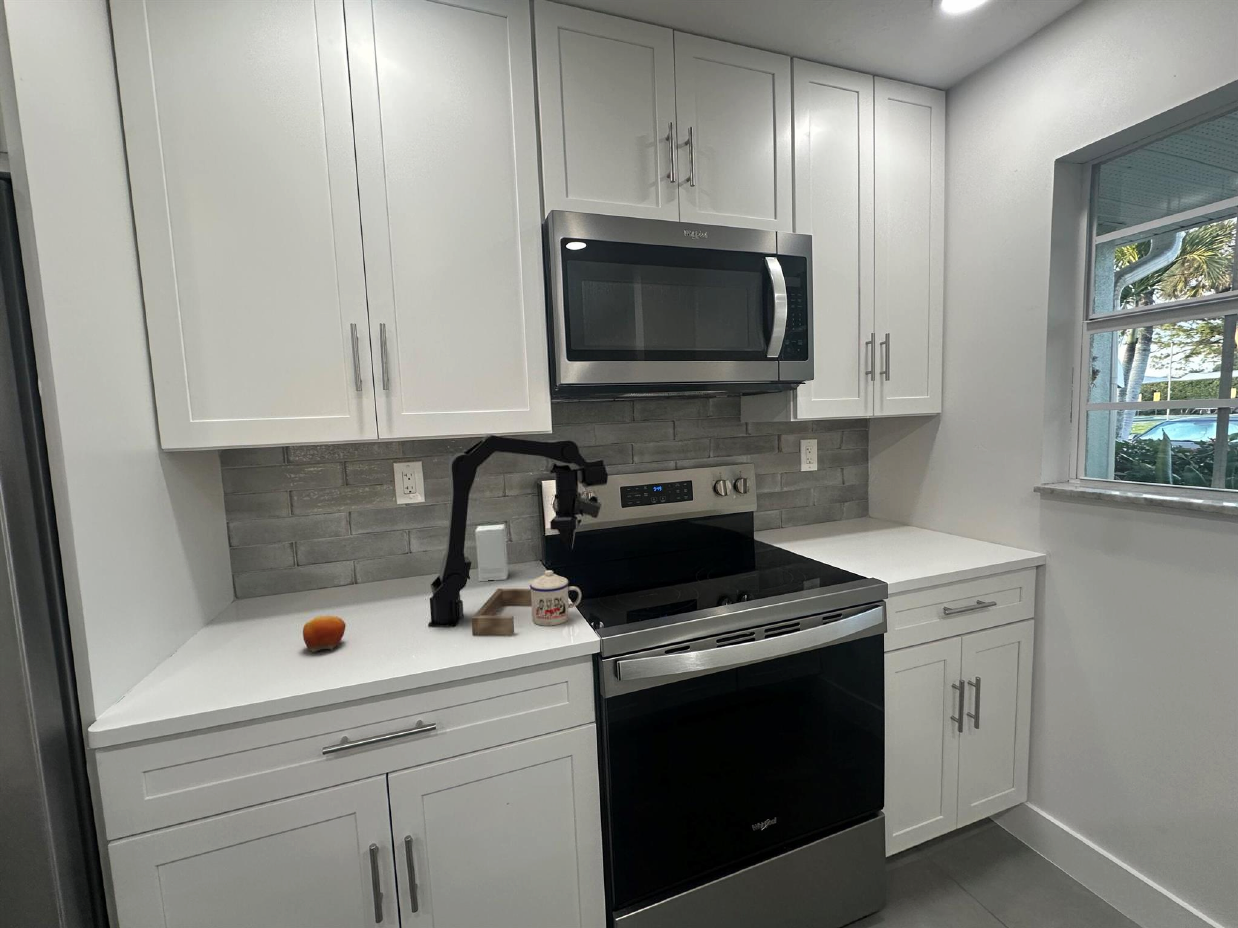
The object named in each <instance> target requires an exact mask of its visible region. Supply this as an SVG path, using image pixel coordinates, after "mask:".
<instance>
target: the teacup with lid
mask: <svg viewBox="0 0 1238 928" xmlns="http://www.w3.org/2000/svg"><path fill="white" fill-rule="evenodd" d="M569 583H570V582H569V580H568V579H567V578H566V577H564V576H560V575H557V574H555V573H554V571H553V570H550V569H549V570H545V571H544V574H542V575H541V576H539V577H537V578H534V579H532V580H531V582H530V583H529V589H531V602H532V606H531V618H532V619H531V620H532V622H533V623H534V624H535V625H539V626H544V627H545V626H547V627H549V626H550V627H551V626H557V625H561V624H564V623H565V622H567V621H568V620H569V619H570V609H572V608H575V607H576V606H578V605H579V603H580V602H581V600H582V592H581V590H580V588H579V587H577V586H574V585H573V586H569ZM570 591H575V592H577V598H576V600H575V601H574V602H572V603H569V592H570Z"/></svg>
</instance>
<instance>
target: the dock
mask: <svg viewBox="0 0 1238 928" xmlns="http://www.w3.org/2000/svg"><path fill="white" fill-rule="evenodd" d="M530 606H531V607H532V602H531V588H497V589H496V590H495V591H494V592H493V594H492V595H490V597H489V598H488V599H486V601H485V602H484V603H483V605H481V607H480V608H479V609H478V610H477V611H476V613H475V614H474V615H473V616H472V617H471V630H472V631H471V633H472V635H486V636H487V635H500V637H503V635H504V637H506V635H507V637H509V636H510V637H511V636H512V637H513V636H514V635H515V621H514V620H515V618H514V615H497V614H498V613H499V611H500V610H501V609H502V607H530ZM496 613H497V614H496ZM501 635H502V636H501ZM508 635H509V636H508ZM486 636H485V637H486Z"/></svg>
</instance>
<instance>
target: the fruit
mask: <svg viewBox="0 0 1238 928" xmlns="http://www.w3.org/2000/svg"><path fill="white" fill-rule="evenodd" d="M346 625H347V624H346V622H345V621H344V620H343V619H342V618H341V617H339V616H338V615H337V616H335V615H319V616H316V617H314V618H313V619H311V620H310V621H308V622H306V623H305V624H304V625H303V628H302V637H303V638H302V639H303V641H304V644H305V645H306V648H307V649H308V650H309V651H310V652H312V653H313V655H314V653H316V652H317V651H320V650H324V649H325V650H326V649H327V650H332V651H333V652H335V650H334V648H335V647H336V646H337V645H339V644H340V642H341V641H342V639H343V637H344V635H345V631H346Z"/></svg>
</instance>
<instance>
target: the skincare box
mask: <svg viewBox="0 0 1238 928" xmlns="http://www.w3.org/2000/svg"><path fill="white" fill-rule="evenodd" d="M505 526H506V525H505V524H492V525H491V524H490V525H477V528H476V529H475V530H474V532H475V545H476V547H475V548H476V556H477V570H478V581H482V582H489V581H488V580H494V581H504V580H507V579H508V576H509V568H508V567H509V565H508V553H507V552H508V551H507V550H508V549H507V538H506V527H505Z"/></svg>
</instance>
